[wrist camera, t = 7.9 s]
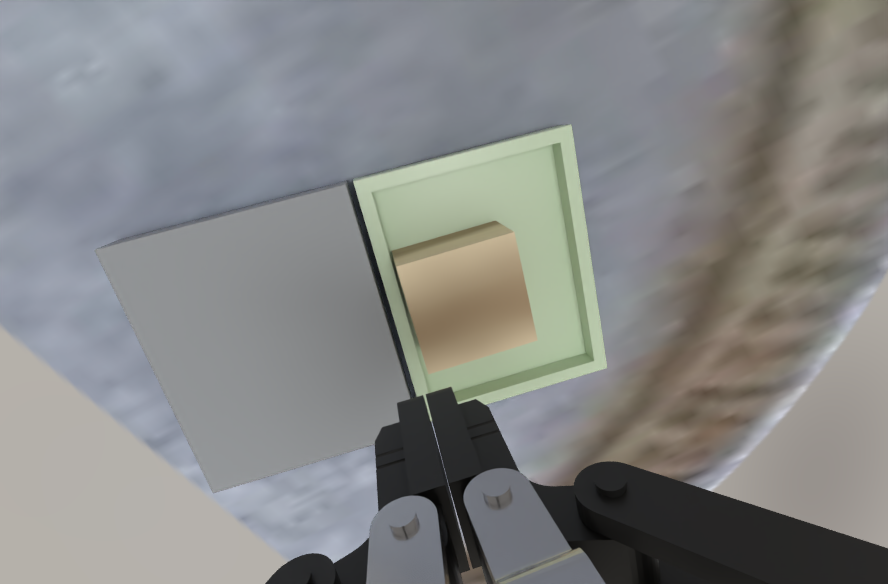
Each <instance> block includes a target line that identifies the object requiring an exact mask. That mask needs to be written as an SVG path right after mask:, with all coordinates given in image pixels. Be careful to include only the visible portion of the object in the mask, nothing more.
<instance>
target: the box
mask: <svg viewBox="0 0 888 584" xmlns="http://www.w3.org/2000/svg"><path fill="white" fill-rule="evenodd" d="M353 183H354V186H355V190H356V193H357V196H358V200H359V203H360V207H361V210H362V213H363V217H364V220H365V223H366V227H367V230H368V234H369V237H370V240H371V244H372V247H373V251H374V254H375V257H376V261H377V264H378V267H379V271H380V274H381V278H382V281H383V284H384V288H385V291H386V294H387V298H388V301H389V305H390V308H391V311H392V315H393V318H394V322H395V325H396V328H397V332H398V335H399V338H400V342H401V345H402V349H403V352H404V355H405V359H406V362H407V365H408V369H409V372H410V376H411V379H412V382H413V386H414V389H415V393H416V396H417V397H418V396H421V395H423V396H424V399H425V403H426V406H427V410H428V413H429V417H430V420H431V421H432V418H431V414H430V410H429V406H428V402H427V398H426V394H428V393H431V392H435V391H438V390H441V389H445V388H448V387H452V389H453V392H454V395H455V397H456V400H457V403H458V404H461V403H464V402H467V401H471V400H474V399H477V400H478V401H480V402H481V403H483V404H484V405H486V404H490V403H493V402H496V401H500V400H503V399H506V398H510V397H513V396H516V395H520V394H523V393H526V392H529V391H533V390H536V389H539V388H543V387H546V386H549V385H553V384H556V383H559V382H563V381H566V380H569V379H572V378H576V377H579V376H582V375H586V374H589V373H592V372H596V371H599V370H602V369H606V368H607V363H606V357H605V350H604V343H603V336H602V329H601V323H600V316H599V309H598V302H597V295H596V289H595V282H594V275H593V268H592V261H591V254H590V248H589V241H588V234H587V227H586V220H585V214H584V207H583V200H582V193H581V186H580V180H579V173H578V166H577V159H576V152H575V145H574V139H573V132H572V125H559V126H555V127H551V128H547V129H543V130H539V131H535V132H532V133H528V134H524V135H520V136H516V137H512V138H509V139H505V140H501V141H497V142H493V143H489V144H486V145H482V146H478V147H474V148H470V149H466V150H463V151H459V152H455V153H451V154H447V155H443V156H439V157H436V158H432V159H428V160H424V161H420V162H416V163H413V164H409V165H405V166H401V167H397V168H393V169H390V170H386V171H382V172H378V173H374V174H370V175H366V176H363V177H359V178H355V179H354V180H353ZM492 221H497V222H499V223H500V224H502V225H504V226H505V227H507V228H509V229H510V230H512V231H514V232H515V237H516V242H517V246H518V251H519V256H520V260H521V265H522V270H523V274H524V279H525V284H526V288H527V293H528V298H529V302H530V307H531V312H532V316H533V321H534V326H535V330H536V335H537V340H538V341H534V342H531V343H528V344H525V345H522V346H518V347H515V348H512V349H509V350H505V351H502V352H499V353H496V354H493V355H489V356H486V357H483V358H480V359H477V360H473V361H470V362H467V363H464V364H461V365H457V366H454V367H451V368H448V369H444V370H441V371H438V372H435V373H432V374H428V371H427V368H426V365H425V361H424V358H423V355H422V351H421V348H420V345H419V342H418V338H417V335H416V332H415V328H414V325H413V322H412V318H411V315H410V312H409V309H408V305H407V302H406V299H405V295H404V292H403V289H402V285H401V282H400V279H399V275H398V272H397V269H396V265H395V262H394V258H393V254H392V251H393V250H396V249H400V248H403V247H406V246H410V245H413V244H417V243H420V242H424V241H427V240H430V239H434V238H437V237H441V236H444V235H448V234H451V233H454V232H458V231H461V230H465V229H468V228H472V227H475V226H478V225H482V224H485V223H489V222H492Z"/></svg>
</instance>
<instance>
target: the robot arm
mask: <svg viewBox="0 0 888 584" xmlns="http://www.w3.org/2000/svg"><path fill="white" fill-rule="evenodd" d="M426 398H427V402H428V406H429V410H430V414H431V418H432V422H433V426H434V429H435V433H436V437H437V441H438V445H439V448H438V445H437V441H436V438H435V434H434V431H433V427H432V424H431V420H430V417H429V413H428V410H427V406H426V403H425V399H424V396H423V395H421V396H418V397H415V398H411V399H408V400H405V401H401V402H398V403H397V409H398V416H399V422H398V423H394V424H391V425H388V426H384V427H382V428H381V430H380V432H379V434H378V436H377V438H376V440H375V455H376V468H377V470H376V473H377V491H378V509H379V512H378V513H377V514H376V516H375V517H374V519H373V521H372V523H371V526H370V533H369V538H368V539H367V540H366V541H365V542H364V543H363V544H362V545H361V546H360V547H359V548H357V549H356V550H354V551H353V552H352V553H350V554H348V555H347V556H345V557H343V558H342V559H340V560H339V561H337V562H335V563H334V564H333V562H332V561H331V559H329V558H328V557H327V556H325V555H322V554H314V553H312V554H306V555H302V556H299V557H297V558H294V559H293V560H291V561H289V562H287V563H286V564H285V565H283V566H282V567H281V568H280V569H278V570H277V571H276V572H275V573H274V574H273V575H272V577H271V578H270V579H269V580H268V581H267V582H266V584H463V581H462V577H461V573H462V572H465V571H468V570H470V568H469V564H468V560H467V556H466V552H465V548H464V545H463V541H462V537H461V533H460V529H459V525H458V521H457V517H456V513H455V510H454V506H453V502H452V498H453V501H454V504H455V508H456V511H457V515H458V518H459V522H460V525H461V529H462V532H463V536H464V539H465V543H466V546H467V550H468V553H469V557H470V560H471V564H472V567H473V569H474V568H477V567H480V566H482V569H483V573H484V576H485V580H486V583H487V584H888V548H885V547H882V546H879V545H875V544H872V543H869V542H866V541H863V540H860V539H857V538H854V537H851V536H848V535H845V534H841V533H838V532H835V531H832V530H829V529H826V528H823V527H820V526H816V525H814V524H810V523H807V522H804V521H801V520H798V519H795V518H792V517H789V516H786V515H782V514H779V513H776V512H773V511H770V510H767V509H764V508H761V507H758V506H755V505H752V504H749V503H746V502H742V501H739V500H736V499H733V498H730V497H727V496H724V495H721V494H717V493H715V492H711V491H708V490H705V489H702V488H699V487H696V486H693V485H690V484H687V483H684V482H680V481H677V480H674V479H671V478H668V477H665V476H662V475H659V474H656V473H653V472H649V471H646V470H643V469H640V468H637V467H634V466H631V465H628V464H624V463H620V462H600V463H595V464H593V465H590V466H588V467H586V468H585V469H583V470H582V471H581V472H580V473H579V474H578V476H577V477H576V479H575V482H574V486H558V487H553V486H543V485H539V484H536V483H533V482H531V481H529V480H528V479H527V477H526V476H524V475H523V474H522V473H520V472H519V470H518V468H517V466H516V464H515V462H514V460H513V458H512V456H511V454H510V451H509V449H508V447H507V445H506V443H505V441H504V439H503V437H502V435H501V433H500V431H499V428H498V426H497V424H496V422H495V420H494V418H493V416H492V414H491V411H490V409H489V407H487V406H486V405H484V404H483V403H481V402H480V401H478V400H477V399H474V400H471V401H467V402H464V403H461V404H458V403H457V400H456V397H455V395H454V392H453V389H452V387H448V388H445V389H441V390H438V391H435V392H431V393H428V394H426ZM439 449H440V452H439ZM440 453H441V455H440ZM441 456H442V459H441ZM442 460H443V463H442ZM443 464H444V467H443ZM444 468H445V471H444ZM445 472H446V474H445ZM446 476H447V478H446ZM447 480H448V482H447ZM448 484H449V486H448ZM449 487H450V490H449ZM450 491H451V494H452V498H451V494H450Z"/></svg>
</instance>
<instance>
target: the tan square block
mask: <svg viewBox="0 0 888 584" xmlns="http://www.w3.org/2000/svg"><path fill="white" fill-rule="evenodd" d="M392 254H393V258H394V262H395V265H396V269H397V272H398V275H399V279H400V282H401V285H402V289H403V292H404V295H405V299H406V302H407V305H408V309H409V312H410V315H411V318H412V322H413V325H414V328H415V332H416V335H417V338H418V342H419V345H420V348H421V351H422V355H423V358H424V361H425V365H426V368H427V371H428V374H432V373H435V372H438V371H441V370H444V369H448V368H451V367H454V366H457V365H461V364H464V363H467V362H470V361H473V360H477V359H480V358H483V357H486V356H489V355H493V354H496V353H499V352H502V351H505V350H509V349H512V348H515V347H518V346H522V345H525V344H528V343H531V342H534V341H538V340H537V335H536V330H535V326H534V321H533V316H532V312H531V307H530V302H529V298H528V293H527V288H526V284H525V279H524V274H523V270H522V265H521V260H520V256H519V251H518V246H517V242H516V237H515V232H514V231H512V230H510V229H509V228H507V227H505V226H504V225H502V224H500V223H499V222H497V221H492V222H489V223H485V224H482V225H478V226H475V227H472V228H468V229H465V230H461V231H458V232H454V233H451V234H448V235H444V236H441V237H437V238H434V239H430V240H427V241H424V242H420V243H417V244H413V245H410V246H406V247H403V248H400V249H396V250H393V251H392Z"/></svg>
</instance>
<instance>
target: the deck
mask: <svg viewBox="0 0 888 584" xmlns="http://www.w3.org/2000/svg"><path fill="white" fill-rule="evenodd" d="M95 252H96V254H97V256H98V258H99V260H100V263H101V265H102V267H103V269H104V271H105V273H106V275H107V277H108V279H109V281H110V283H111V285H112V287H113V289H114V291H115V293H116V295H117V297H118V299H119V301H120V304H121V306H122V308H123V310H124V312H125V314H126V316H127V318H128V320H129V322H130V324H131V326H132V328H133V330H134V332H135V334H136V336H137V338H138V340H139V342H140V345H141V347H142V349H143V351H144V353H145V355H146V357H147V359H148V361H149V363H150V365H151V367H152V369H153V371H154V373H155V375H156V377H157V379H158V381H159V383H160V386H161V388H162V390H163V392H164V394H165V396H166V398H167V400H168V402H169V404H170V406H171V408H172V410H173V412H174V414H175V416H176V418H177V420H178V422H179V424H180V427H181V429H182V431H183V433H184V435H185V437H186V439H187V441H188V443H189V445H190V447H191V449H192V451H193V453H194V455H195V457H196V459H197V461H198V463H199V465H200V468H201V470H202V472H203V474H204V476H205V478H206V480H207V482H208V484H209V486H210V488H211V490H212V492H213V493H216V492H219V491H222V490H226V489H229V488H232V487H236V486H239V485H242V484H246V483H249V482H252V481H255V480H259V479H262V478H265V477H269V476H272V475H275V474H278V473H282V472H285V471H288V470H292V469H295V468H298V467H302V466H305V465H308V464H311V463H315V462H318V461H321V460H325V459H328V458H331V457H335V456H338V455H341V454H344V453H348V452H351V451H354V450H358V449H361V448H364V447H368V446H371V445H374V444H375V440H376V438H377V436H378V434H379V432H380V430H381V428H382V427H384V426H388V425H391V424H394V423H398V422H399V416H398V409H397V403H398V402H401V401H405V400H408V399H411V398H412V396H411V392H410V389H409V386H408V382H407V379H406V376H405V372H404V369H403V366H402V362H401V359H400V356H399V352H398V349H397V346H396V342H395V339H394V336H393V332H392V329H391V326H390V322H389V319H388V316H387V312H386V309H385V306H384V302H383V299H382V296H381V292H380V289H379V286H378V282H377V279H376V276H375V272H374V269H373V266H372V262H371V259H370V255H369V252H368V249H367V245H366V242H365V239H364V235H363V232H362V229H361V225H360V222H359V219H358V215H357V212H356V209H355V205H354V202H353V199H352V195H351V192H350V189H349V185H348V182H347V181H343V182H340V183H336V184H332V185H328V186H324V187H320V188H317V189H313V190H309V191H305V192H301V193H297V194H294V195H290V196H286V197H282V198H278V199H274V200H270V201H267V202H263V203H259V204H255V205H251V206H247V207H244V208H240V209H236V210H232V211H228V212H224V213H221V214H217V215H213V216H209V217H205V218H201V219H197V220H194V221H190V222H186V223H182V224H178V225H174V226H171V227H167V228H163V229H159V230H155V231H151V232H148V233H144V234H140V235H136V236H132V237H128V238H125V239H121V240H117V241H115V242H113V243H110V244H108V245H105V246H103V247H100V248H98V249H96V250H95Z"/></svg>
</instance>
